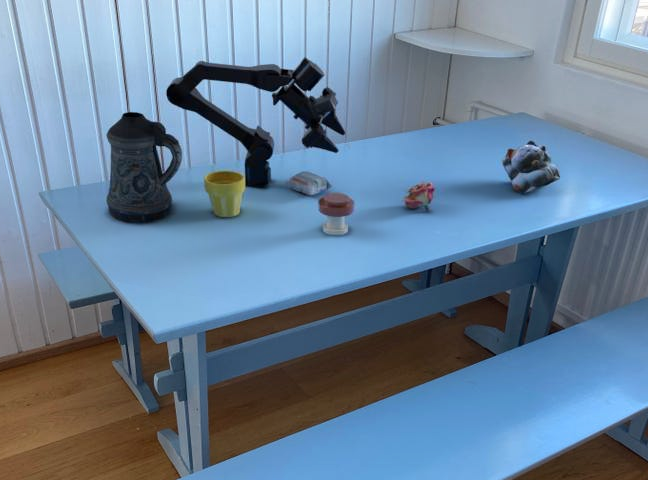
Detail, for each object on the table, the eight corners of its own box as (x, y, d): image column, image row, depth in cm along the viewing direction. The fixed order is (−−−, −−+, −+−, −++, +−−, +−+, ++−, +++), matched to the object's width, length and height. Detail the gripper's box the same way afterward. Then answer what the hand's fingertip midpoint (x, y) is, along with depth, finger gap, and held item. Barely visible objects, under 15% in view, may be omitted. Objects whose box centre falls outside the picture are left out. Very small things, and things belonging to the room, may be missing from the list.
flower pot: (208, 204, 198) (205, 169, 192) (247, 204, 199) (245, 169, 193) (205, 220, 189) (202, 184, 184) (245, 220, 190) (244, 184, 185)
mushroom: (313, 234, 185) (313, 201, 180) (323, 220, 193) (324, 188, 187) (347, 240, 184) (348, 207, 179) (357, 225, 191) (358, 193, 186)
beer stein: (104, 202, 196) (88, 107, 181) (176, 193, 203) (167, 101, 188) (113, 227, 184) (97, 127, 169) (190, 217, 190) (182, 120, 176)
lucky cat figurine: (516, 196, 211) (504, 148, 208) (506, 197, 223) (495, 151, 220) (566, 181, 211) (555, 132, 208) (553, 182, 223) (543, 136, 220)
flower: (445, 201, 202) (433, 174, 200) (438, 207, 194) (425, 179, 192) (414, 216, 206) (402, 190, 205) (406, 222, 198) (393, 195, 197)
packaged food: (311, 201, 202) (312, 184, 199) (281, 189, 208) (281, 172, 205) (333, 193, 208) (333, 177, 205) (302, 182, 214) (303, 165, 211)
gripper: (309, 102, 187) (353, 144, 194) (325, 68, 200) (366, 108, 206) (283, 128, 195) (326, 167, 201) (300, 93, 207) (340, 131, 213)
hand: (341, 142), depth 205 cm, fingers open, 9 cm apart
